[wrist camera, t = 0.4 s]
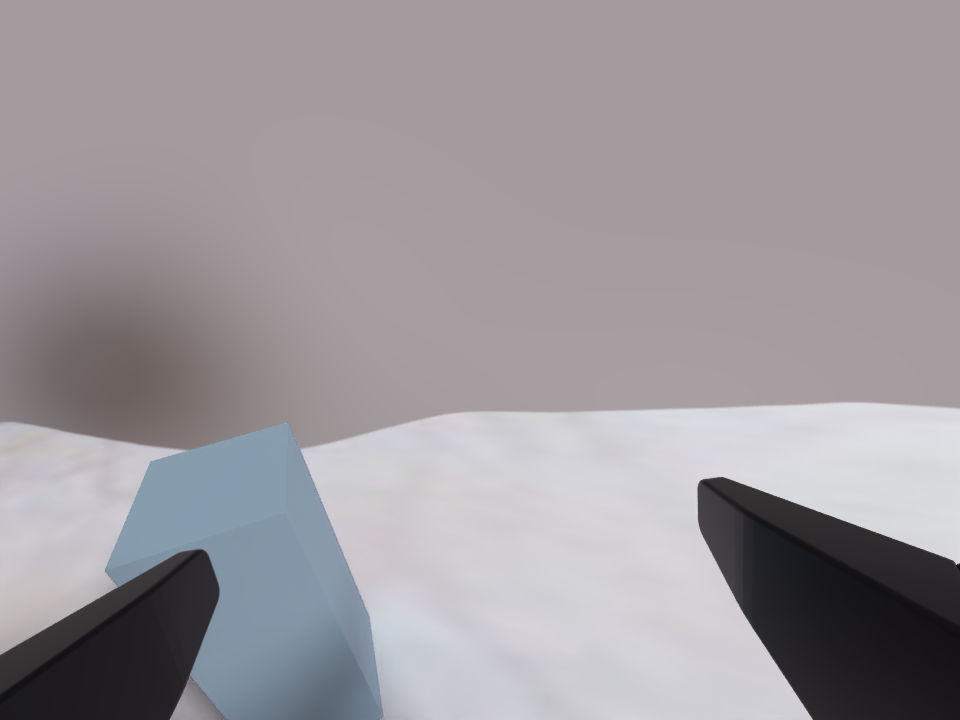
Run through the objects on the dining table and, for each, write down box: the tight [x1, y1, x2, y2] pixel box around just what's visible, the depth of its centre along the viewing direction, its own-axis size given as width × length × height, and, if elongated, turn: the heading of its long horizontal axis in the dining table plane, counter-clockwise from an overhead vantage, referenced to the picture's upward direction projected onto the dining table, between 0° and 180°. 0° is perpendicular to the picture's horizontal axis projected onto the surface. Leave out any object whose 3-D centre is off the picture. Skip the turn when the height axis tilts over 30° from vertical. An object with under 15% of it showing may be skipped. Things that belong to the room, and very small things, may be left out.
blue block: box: [105, 422, 383, 720], centre depth 19 cm, size 5×5×13 cm
